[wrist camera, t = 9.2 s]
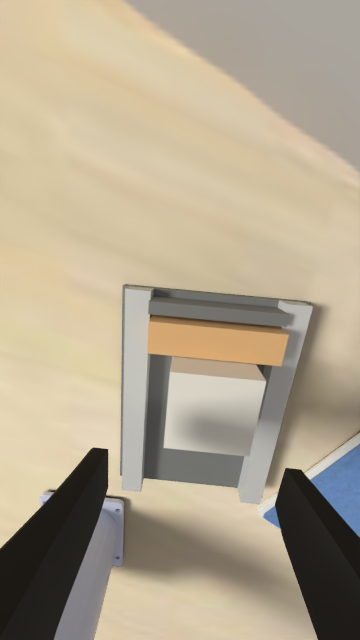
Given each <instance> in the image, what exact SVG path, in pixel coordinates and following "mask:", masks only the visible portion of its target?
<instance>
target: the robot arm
mask: <svg viewBox="0 0 360 640" xmlns="http://www.w3.org/2000/svg"><path fill="white" fill-rule="evenodd" d="M107 489H108V449H101V448H92V449H91V450H90V451H89V452H88V453H87V455H86V456H85V457H84V458H83V460H82V461H81V462H80V463H79V464H78V466H77V467H76V468H75V469H74V470H73V472H72V473H71V474H70V475H69V476H68V477H67V479H66V480H65V481H64V482H63V483H62V484H61V485H60V487H59V488H58V489H57V490H56V491H55V492H43V493H42V495H41V496H40V503H41V508H40V509H39V510H38V511H37V512H36V513H35V514H34V515H33V516H32V517H31V518H30V519H29V520H28V521H27V522H26V523H25V524H24V525H23V526H22V527H21V528H20V529H19V530H18V531H17V532H16V533H15V534H14V535H13V536H12V537H11V538H10V539H9V540H8V541H7V542H6V543H5V544H4V545H3V546H2V547H1V548H0V640H94V637H95V633H96V629H97V625H98V621H99V617H100V613H101V609H102V605H103V601H104V597H105V593H106V589H107V585H108V580H109V576H110V572H111V568H112V566H116V567H119V566H121V565H122V562H123V533H124V502H123V501H122V500H121V499H114V498H105V496H106V492H107ZM275 508H276V513H277V517H278V521H279V525H280V529H281V533H282V536H283V540H284V543H285V546H286V549H287V552H288V555H289V558H290V561H291V563H292V566H293V569H294V572H295V575H296V578H297V581H298V584H299V586H300V589H301V592H302V595H303V598H304V601H305V604H306V606H307V609H308V612H309V615H310V618H311V621H312V624H313V626H314V629H315V632H316V635H317V638H318V640H360V537H359V536H358V535H357V534H356V533H355V532H354V531H353V530H352V528H351V527H350V526H349V525H348V524H347V523H346V522H345V520H344V519H343V518H342V517H341V516H340V515H339V514H338V512H337V511H336V510H335V509H334V508H333V507H332V505H331V504H330V503H329V502H328V501H327V500H326V498H325V497H324V496H323V495H322V494H321V493H320V491H319V490H318V489H317V488H316V487H315V485H314V484H313V483H312V482H311V481H310V480H309V478H308V477H307V476H306V475H305V474H304V473H303V472H302V470H299V469H290V468H286V469H285V472H284V475H283V479H282V482H281V485H280V488H279V492H278V495H277V498H276V502H275Z"/></svg>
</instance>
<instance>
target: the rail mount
mask: <svg viewBox="0 0 360 640" xmlns="http://www.w3.org/2000/svg"><path fill="white" fill-rule="evenodd" d="M312 309H313V306H311V303H309V302H306V301H297V300H286V299H275V298H265V297H254V296H243V295H233V294H222V293H211V292H201V291H190V290H179V289H169V288H158V287H147V286H137V285H126V284H125V285H123V304H122V383H121V461H120V476H122V490H127V491H137V492H141V489H142V484H143V479H144V478H149V479H158V480H168V481H178V482H187V483H197V484H207V485H216V486H226V487H235V488H238V492H239V497H240V502H242V503H251V504H260V502H261V498H262V494H263V491H264V487H265V483H266V479H267V476H268V472H269V468H270V465H271V461H272V457H273V454H274V450H275V446H276V442H277V439H278V435H279V431H280V428H281V424H282V420H283V416H284V413H285V409H286V405H287V402H288V398H289V394H290V391H291V387H292V383H293V379H294V376H295V372H296V368H297V365H298V361H299V357H300V354H301V350H302V346H303V342H304V339H305V335H306V331H307V328H308V324H309V320H310V317H311V313H312ZM152 315H163V316H174V317H184V318H195V319H205V320H216V321H226V322H237V323H247V324H258V325H268V326H278V327H280V328H281V329H282V330H283V331H285V332H286V333H287V334H289V337H288V341H287V345H286V349H285V353H284V357H283V361H282V365H281V366H272V365H262V364H256V365H257V367H258V369H259V370H260V372H261V373H262V375H263V377H264V378H265V380H266V385H265V390H264V394H263V398H262V403H261V407H260V411H259V416H258V420H257V424H256V429H255V433H254V438H253V442H252V446H251V451H250V455H249V457H248V456H238V455H228V454H218V453H208V452H199V451H189V450H179V449H169V448H164V436H165V424H166V412H167V400H168V388H169V376H170V368H171V362H172V356H169V355H159V354H149V353H147V346H148V326H149V320H150V318H151V317H152Z"/></svg>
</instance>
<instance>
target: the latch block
mask: <svg viewBox="0 0 360 640" xmlns="http://www.w3.org/2000/svg"><path fill="white" fill-rule="evenodd" d="M288 337H289V334H287V333H286V332H285V331H283V330H282V329H281V328H280V327H278V326H268V325H258V324H247V323H237V322H226V321H216V320H205V319H195V318H184V317H174V316H163V315H152V317H151V318H150V320H149V326H148V346H147V353H149V354H159V355H169V356H179V357H190V358H200V359H210V360H221V361H231V362H241V363H251V364H262V365H272V366H281V365H282V361H283V357H284V353H285V349H286V345H287V341H288Z"/></svg>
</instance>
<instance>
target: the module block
mask: <svg viewBox="0 0 360 640" xmlns="http://www.w3.org/2000/svg"><path fill="white" fill-rule="evenodd" d="M265 385H266V380H265V378H264V377H263V375H262V373H261V372H260V370H259V369H258V367H257V365H256V364H251V363H241V362H231V361H221V360H210V359H200V358H190V357H179V356H172V362H171V368H170V376H169V388H168V400H167V412H166V424H165V436H164V448H169V449H179V450H189V451H199V452H208V453H218V454H228V455H238V456H248V457H249V455H250V451H251V446H252V442H253V438H254V433H255V429H256V424H257V420H258V416H259V411H260V407H261V403H262V398H263V394H264V390H265Z"/></svg>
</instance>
